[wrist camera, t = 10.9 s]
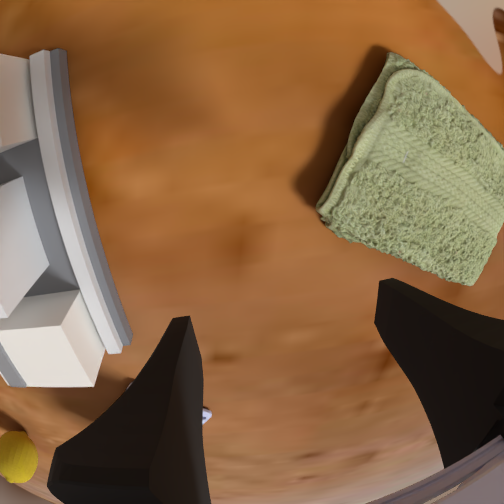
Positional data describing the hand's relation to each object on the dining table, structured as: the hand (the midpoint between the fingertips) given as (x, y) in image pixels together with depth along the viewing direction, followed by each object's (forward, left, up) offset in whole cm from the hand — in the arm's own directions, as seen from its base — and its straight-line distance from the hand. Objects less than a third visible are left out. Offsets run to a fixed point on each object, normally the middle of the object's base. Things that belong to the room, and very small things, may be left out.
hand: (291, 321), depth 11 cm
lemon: (-36, +9, -10) cm, 38 cm away
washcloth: (+10, -9, -10) cm, 17 cm away
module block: (-8, +14, -8) cm, 18 cm away
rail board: (-8, +14, -9) cm, 19 cm away
